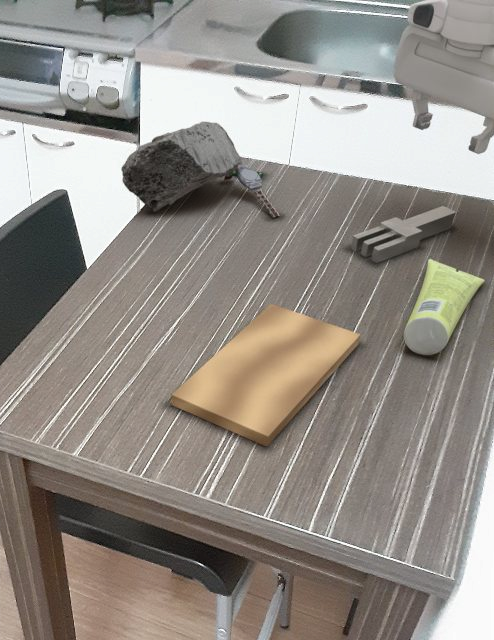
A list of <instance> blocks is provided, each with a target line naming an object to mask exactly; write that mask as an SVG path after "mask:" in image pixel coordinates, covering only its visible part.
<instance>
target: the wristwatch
mask: <svg viewBox="0 0 494 640" xmlns="http://www.w3.org/2000/svg"><path fill="white" fill-rule="evenodd" d="M235 171H236V178H237V180H238V181H239V182H240V184H241V185H242V186H243V187H244V188H247V189H248V190H250V191H252V192H253V193H254V195H255V196H257V199H258V200H259V201H260V203H261V204H262V205H263V207H264V208H265V209H266V211H267V212H268V214H270V216H271V218H276V217H280V216H281V213H280V212H279V211H278V210H277V208H276V206H274V204H273V203H272V202H271V200H270V199H269V198H268V196H267V195H266V194H265V193H264V191H263V190H262V187H263V180H262V177H261V178H260V176H259V175H258V174H257V172H258V171H256V170H255V169H254V168H253V167H252V166H249V165H247V164H243V162H242V161H241V160H240V162H239V165H238V167H237V169H236V170H235ZM232 173H233V172H231V173H230V175H229V174H228V175H225V176H224V178H223V181H224V182H226V181H231V180H232V179H233V175H232Z"/></svg>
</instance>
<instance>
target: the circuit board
mask: <svg viewBox="0 0 494 640" xmlns="http://www.w3.org/2000/svg"><path fill="white" fill-rule="evenodd" d="M256 172H257V174H258V175H259V176H260V178H261V179H262V177H263V176H264V172H260V171H256ZM229 175H230V174H228V176H229ZM232 176H236V171H233V173H232ZM236 177H237V176H236Z"/></svg>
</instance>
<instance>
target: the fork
mask: <svg viewBox="0 0 494 640" xmlns="http://www.w3.org/2000/svg"><path fill="white" fill-rule="evenodd" d="M456 214H457V212H456V211H455V210H453V209H451V208H448V207H446V206H444V205H441V206H438V207H436V208H433V209H431V210H428V211H425V212H423V213H420V214H417V215H414V216H412V217H408V218H406V219H401V218H399V217H397V216H395V217H392V218H390V219H389V218H388V219H386V220H384V221H381V222H380V223H379V226H376V227H373V228H371V229H367V230H365V231H362V232H359V233H356V234H354V235H352V239H351V244H350V250H351V251H353V252H355V253H356V252H359V251H361V252H360V255H361V256H362V257H364V258H367V257H370V256H371V257H370V258H371V259H370V261H371V262H372V263H374V264H379V263H381V262H384V261H386V260H389V259H392V258H394V257H397V256H399V255H402V254H405V253H407V252H409V251H413V250H415V249H418V248H419V246H420V242H421V241H422V240H424V239H427V238H429V237H432V236H435V235H437V234H440V233H443V232H445V231H448V230H451V229H452V226H453V223H454V220H455V216H456Z"/></svg>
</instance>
